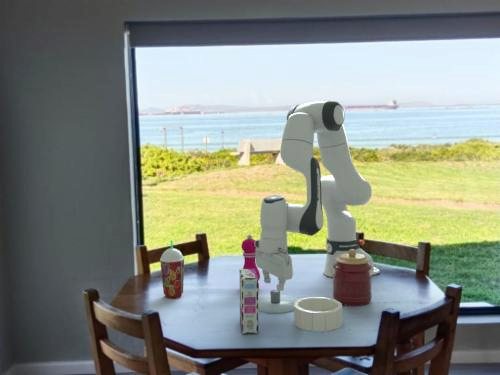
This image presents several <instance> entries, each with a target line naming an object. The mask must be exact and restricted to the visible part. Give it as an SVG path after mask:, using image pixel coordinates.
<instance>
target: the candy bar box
mask: <svg viewBox="0 0 500 375" xmlns="http://www.w3.org/2000/svg"><path fill="white" fill-rule="evenodd" d="M238 272H239V323H240V329H241V334H242V335H256V334H257V335H259V311H258V297H259V289H258V283H259V281H258V277H257V274H256V272H255V269H243V268H240V269H239V271H238Z"/></svg>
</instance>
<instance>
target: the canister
mask: <svg viewBox="0 0 500 375" xmlns="http://www.w3.org/2000/svg"><path fill="white" fill-rule="evenodd" d="M335 260H336V263H334V264H333V268H334V274H333V277H332V281H333V282H332V283H333V284H332V285H333V286H332V299H335V300H337V301H339V302H341V304H342V306H343V305H344V306H351V307H352V306H353V307H356V306H357V307H358V306H359V305H360V306H364V305H368V304H370V303H371V300H372V298H373V297H372V276H373V275H370V270H371V269H372V266H371V265H370V264H369V263H368V262H369V259H368V258H367V257H365V256H364V255H362V254H358V253H356V251H355V250H354V249H350V250H349V251H348V253H344V254H341V255H339V256H338V257H336V258H335Z"/></svg>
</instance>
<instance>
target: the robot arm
mask: <svg viewBox="0 0 500 375" xmlns="http://www.w3.org/2000/svg"><path fill="white" fill-rule="evenodd" d="M344 122H345V110H344V107H343V105H341V104H340V102H338V101H335V100H326V101H325V100H324V101H318V100H317V101H313V102H308V103H303V104H297V105H294V106H292V107H290V109H289V110H288V112H287V114H286V122H285V126H284V128H283V129H284V130H283V133H282V139H281V144H280V151H279V152H280V159H281V160H282V162H283V163H284V164H285V165H286V166H287V167H288V168H290V169H292V170H294V171H296V172H299V173H300V174H302V175H303V177H304V178H305V181H306V203H305V204H300V203H299V204H297V203H291V202H287V201H286V197H285V196H284V195H283V196H282V195H279V194H277V195H276V194H275V195H274V194H272V195H268V196H265V197H264V198H263V199H262V201H261V205H260V214H259V215H260V220H259V224H260V227H261V229H260V230H261V232H260V235H259V236H260V239H255V240H256V241H255V247H256V258H255V262H256V266H257V268H258V269H261V272H262V275H263V283H265V284H271V279H272V278H271V276H272V275H273V276H274V277H276V278H277V281H278V283H277V284H276V290H279V291H280V292H282V291H284V289H285V288H284V287H285V284H286V281H288V280H291V279H292V278H293V276H294V273H293V260H292V257H291V255H289V253H288V234H287V232H288V233H295V234H296V233H297V234H301V235H306V236H310V237H311V236H312V237H313V236H315V235H316V234H318V233H319V232H320V231H321V230H322V229H323V227H324V214H325V217H326V225H327V226H326V228H327V238H326V242H325V243H326V246H325V247H326V248H325V249H326V260H325V265H324V269H323V274H324V275H325V276H327V277H330V278H333V274H334V268H333V264H334V263H336V260H335V258H336V257H338V256H339V255H341V254H344V253H348V251H349V250H350V249H354V250H355V251H356V253H358V254H362V255H364V256H365V257H367V258H368V259H369V262H368V263H369V264H370V265H371V266H372V269H371V270H370V275H371V276H374V275H375V276H376V275H377V274H380V269H379V268H377V267H375V265H374V260H373V257H372V256H371V255H370V254H369V253H367V252H366V251H365V250H363V249H362V248H360V246H364V244H365V240H364V239H358V238H357V236H356V235H357V230H356V229H357V222H356V219H355V217H354V215H353V214H351V213H350V211H349V209H348V207H347V206H349V207H351V206H352V207H357V206H363V205H366V204H368V202H369V201H370V200H371V198H372V193H373V192H372V186H371V183H369V181H367V180H366V179H365V177H364V178H363V177H362V175H361V174H360V173H359V172H358V169H357V168H356V166H355V165H354V162H353V160H352V157H351V153H350V148H349V143H348V138H347V133H346V130H345V127H344ZM315 133H316V138H317V144H318V149H319V155H320V159H321V160H320V161H321V164H322V166H323V168H324V169H326V170H327V171H328V172H329V173H330V174H331V175H325V176H321V174H322V173H321V172H322V171H321V165H320V162H319V160H318V159H317V158H315V155H314V150H313V149H314V142H315V141H314V138H315ZM323 210H324V212H323ZM270 274H271V276H270Z"/></svg>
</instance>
